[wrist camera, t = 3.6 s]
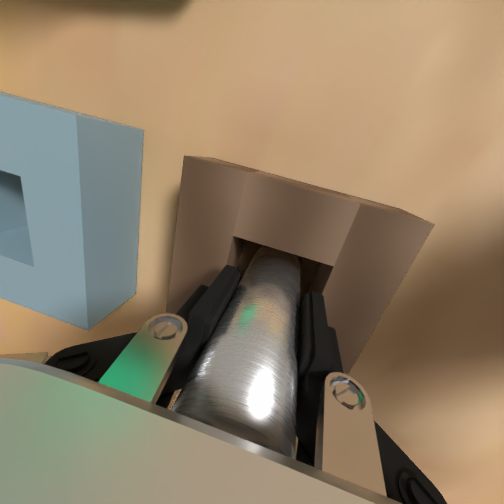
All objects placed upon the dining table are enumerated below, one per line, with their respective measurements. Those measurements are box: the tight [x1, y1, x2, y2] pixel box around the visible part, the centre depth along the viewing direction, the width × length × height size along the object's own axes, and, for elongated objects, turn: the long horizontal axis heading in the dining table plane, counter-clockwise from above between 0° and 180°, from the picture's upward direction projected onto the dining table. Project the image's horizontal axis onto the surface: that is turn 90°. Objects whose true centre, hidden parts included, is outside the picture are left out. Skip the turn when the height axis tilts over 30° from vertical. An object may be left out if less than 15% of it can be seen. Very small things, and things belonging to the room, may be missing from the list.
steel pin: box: [171, 246, 301, 459], centre depth 10 cm, size 3×3×11 cm
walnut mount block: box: [166, 156, 435, 375], centre depth 14 cm, size 11×11×4 cm
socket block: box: [0, 92, 144, 330], centre depth 15 cm, size 12×12×4 cm
